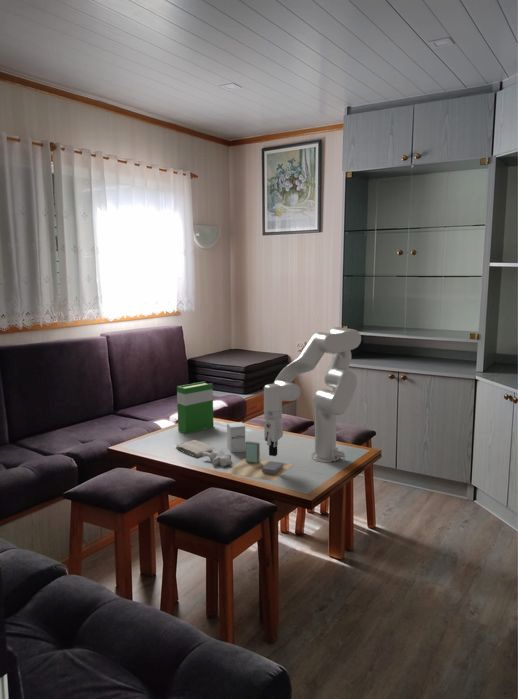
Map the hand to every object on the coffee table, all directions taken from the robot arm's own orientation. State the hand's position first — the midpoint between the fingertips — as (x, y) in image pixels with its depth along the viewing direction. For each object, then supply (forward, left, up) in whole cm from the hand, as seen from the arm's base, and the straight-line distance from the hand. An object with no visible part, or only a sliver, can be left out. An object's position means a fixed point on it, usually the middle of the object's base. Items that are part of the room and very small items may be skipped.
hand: (273, 455), depth 234 cm
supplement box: (+26, -17, -7) cm, 32 cm away
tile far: (+12, -5, -6) cm, 15 cm away
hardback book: (+61, -39, -7) cm, 73 cm away
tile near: (0, -4, -5) cm, 7 cm away
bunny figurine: (+26, +1, -7) cm, 27 cm away
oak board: (+6, +1, -7) cm, 9 cm away
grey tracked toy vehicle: (+44, -9, -8) cm, 46 cm away
